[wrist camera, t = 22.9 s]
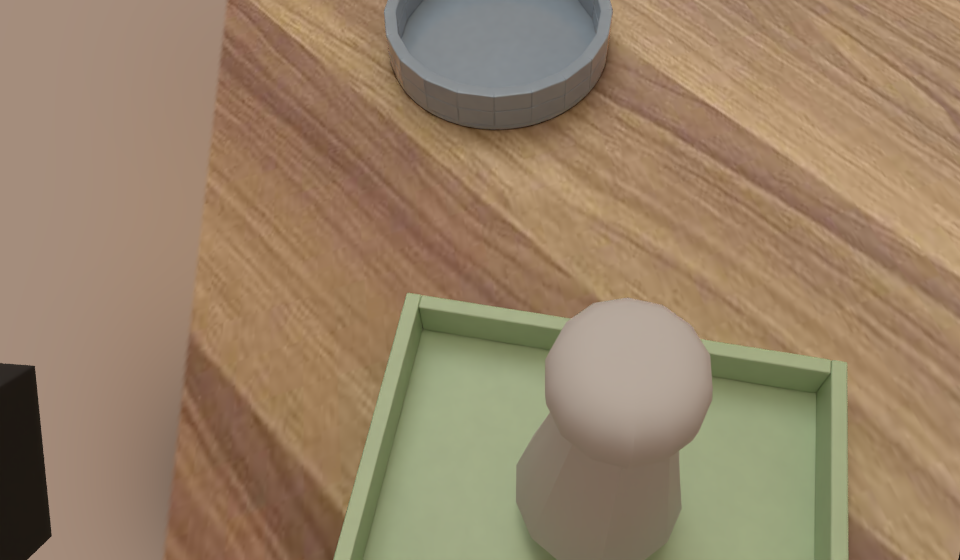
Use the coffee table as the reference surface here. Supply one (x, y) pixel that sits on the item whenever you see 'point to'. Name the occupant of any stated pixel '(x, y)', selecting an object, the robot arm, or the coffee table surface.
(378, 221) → the coffee table surface
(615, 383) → the salt shaker
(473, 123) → the bowl
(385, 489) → the tray
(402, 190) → the coffee table surface
